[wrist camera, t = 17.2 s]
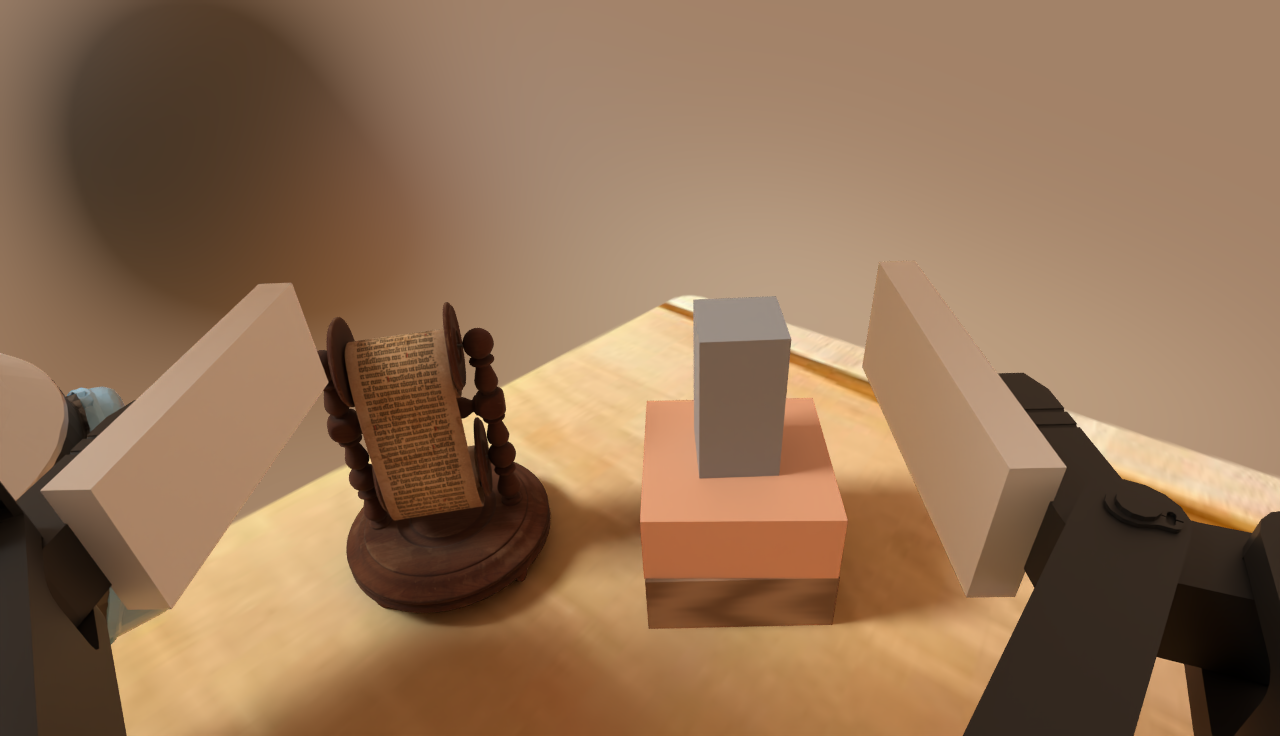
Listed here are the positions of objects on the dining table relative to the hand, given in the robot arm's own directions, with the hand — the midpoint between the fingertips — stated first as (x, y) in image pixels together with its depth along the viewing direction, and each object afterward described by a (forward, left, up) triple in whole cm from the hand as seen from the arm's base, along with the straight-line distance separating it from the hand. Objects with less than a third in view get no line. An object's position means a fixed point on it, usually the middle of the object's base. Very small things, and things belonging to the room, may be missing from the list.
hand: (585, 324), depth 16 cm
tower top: (+6, +21, -27) cm, 34 cm away
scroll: (-15, +22, -32) cm, 42 cm away
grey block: (+6, +21, -22) cm, 31 cm away
